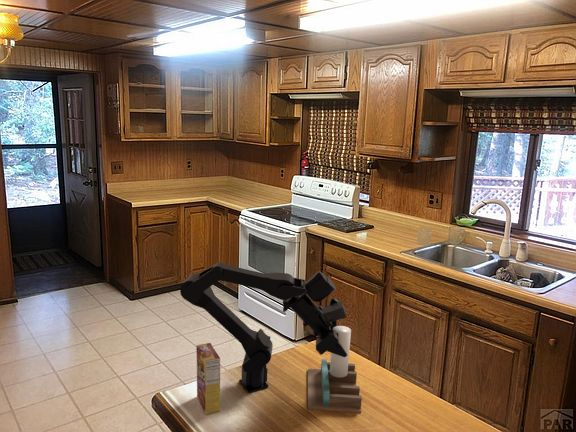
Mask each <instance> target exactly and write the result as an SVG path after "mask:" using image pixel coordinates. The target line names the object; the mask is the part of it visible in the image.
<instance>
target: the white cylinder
mask: <svg viewBox="0 0 576 432" xmlns="http://www.w3.org/2000/svg"><path fill="white" fill-rule="evenodd" d="M333 330H334V331H335V332H336V333H338V335H339V339H338V341H339V343H340V344H341V346H342V347H343V349H344V350H345V352H346V353H347V356H346V357H342V356H339V355H336V354H334V353H331V352H330V360H329V362H330V374H331V375H332V376H335V377H345V376H347V374H348V363H350V362H349V360H350V350H351V339H352V338H351V335H352V329H351V328H350V327H348V326H344V325H337V326H336V327H334V328H333Z"/></svg>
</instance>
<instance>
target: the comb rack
mask: <svg viewBox="0 0 576 432" xmlns="http://www.w3.org/2000/svg"><path fill="white" fill-rule="evenodd" d="M327 359H328V358H321V361H320V362H321V363H320V365H321V367H320V369H319V368H307V410H311V411H314V410H315V411H327V412H345V413H359V414H360V413H362V401H363V399H362V398H363V397H362V395H360V390H361V388H360V386H359V385H357V371H355V370H356V363H350V362H348V374H347V376H345V377H335V376H332V375H331V374H330V361H328V360H327Z"/></svg>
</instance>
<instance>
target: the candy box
mask: <svg viewBox="0 0 576 432" xmlns="http://www.w3.org/2000/svg"><path fill="white" fill-rule="evenodd" d="M195 349H196V351H195V352H196V397H197V399H198V401H199V403H200V405H201V407H202V410H203V413H204V415H210V414H214V413H219V412H220V411H221V357H220V355H219V354H218V353H217V351H216V349H215V348H214V346H213V345H212V343H211V342H208V343H202V344H197V345H196V348H195Z"/></svg>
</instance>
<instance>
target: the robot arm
mask: <svg viewBox="0 0 576 432" xmlns="http://www.w3.org/2000/svg"><path fill="white" fill-rule="evenodd" d="M219 281H222V282H226V283H230V284H234V285H238V286H243V287H247V288H252V289H257V290H261V291H263V292H265V294H268V295H269V296H271V297H274V298H276V299H278V300H280V301H282V305H283V306H282V307H283V308H282V312H283V313H286V312H287V311H288V310H289V309H291V310H292V311H293V312H294V314H296V316H298V319H300V320H301V321H302V325H303V326H304V327H305V328H306V327H308V329H309V330H310V331H311V332H312V336H313V337H314V338H316V339H315V351H316V352H317V353H318V354H319V355H323V354H325V353H326V352H329V353H330V354H331V353H334V354H336V355H339V356H342V357H346V356H347V353H346V352H345V350H344V349H343V347H342V346H341V344H340V343H339V341H338V339H339V335H338V333H336V332H335V331H334V330H333V328H334V327H336V326H338V325H337V322H338V320H344V319H345V318H347V311H346V309H345V306H344V304H343V301H341V300H338V299H337V298H336V297H332V298H330V299H329V301H328V302H329V303H328V304H326V306H325V307H322V306H321V305H319V304H316V303H318V302H319V303H321V302H323V300H325V299H326V298H327V297H329V296H330V295H331V294H332V293H334V292H335V291H336V290H337V287H336V286H335V283H334V282H333V281H332V280H331V278H330V277H329V276H328V275H325V273H323V272H322V271H321V270H318V271H316V272H315V273H314V274H313V276H312V277H310V278H308V280H306V279H303V278H297V277H293V275H291V274H290V273H287V272H286V273H285V272H271V273H265V272H260V271H255V270H250V269H247V268H242V267H238V266H234V265H229V264H224V263H223V262H216V263H215V264H214V265H212V266H211V267H210V266H209V268H206V269H204V270H202V271H201V272H199V273H192V274H190V275H188V276H187V277H186V279H185V280H184V281H183V282H182V284H181V285H180V288H179V292H180V296H181V297H182V299H183V300H185V301H186V302H188V303H190V304H191V305H193V306H195V307H197V308H200V309H203V310H204V311H205V312H207V313H208V314H209V315H210V316H211V317H212V318H213V319H215V321H216V322H218V323H219V324H220V326H222V327H223V328H224V329H225V330H226V331H227V332H228V333H229V334H231V336H233V337H234V339H235V340H237V341H238V342H239V343H240V345H241V347H242V348H243V350H244V352H245V354H244V358H243V361H242V364H241V379H239V380H238V383H239V384H240V385H241V386H242V387H243V388H244V390H245V391H246V392H247V393H253V392H256V391H259V390H264V389H266V388H269V384H268V383H267V382H268V368H267V365H268V364H269V363H270V362H271V359H272V354H273V346H274V345H273V341H272V340H271V336H270V335H268V334H266V333H265V331H264V330H263V329H262V328H259V330H258V331H257V330H254V329H251V328H250V327H249V326H248V325H247V324H246V323H245V322H244V321H243V320H241V319H240V317H238V315H236V314H235V313H234V312H233V311H232V310H231V309H230V308H229V307H228V306H226V305H225V303H223V301H222V300H220V299H219V298H218V297H217V296H216V295H215V292H214V291H213V289H212V286H213V285H214V284H216V283H217V282H219ZM315 302H316V303H315ZM318 336H319V337H318Z"/></svg>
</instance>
